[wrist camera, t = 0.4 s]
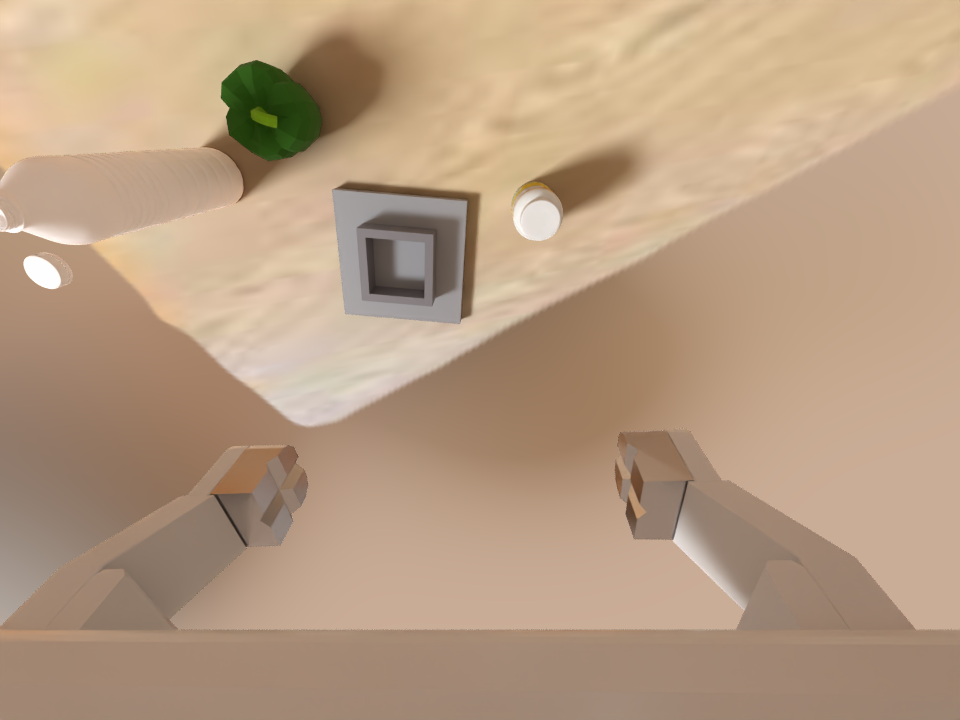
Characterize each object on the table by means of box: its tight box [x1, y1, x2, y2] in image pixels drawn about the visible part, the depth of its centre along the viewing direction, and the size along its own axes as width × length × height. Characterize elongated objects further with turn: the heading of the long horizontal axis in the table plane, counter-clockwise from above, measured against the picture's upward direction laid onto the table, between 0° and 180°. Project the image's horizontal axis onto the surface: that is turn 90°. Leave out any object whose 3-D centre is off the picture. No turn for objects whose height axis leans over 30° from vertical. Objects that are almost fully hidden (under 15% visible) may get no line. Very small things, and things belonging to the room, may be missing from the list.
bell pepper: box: [221, 60, 322, 161], centre depth 40 cm, size 8×8×10 cm
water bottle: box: [0, 147, 244, 289], centre depth 38 cm, size 9×6×25 cm
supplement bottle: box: [511, 182, 563, 241], centre depth 44 cm, size 5×5×10 cm
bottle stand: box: [332, 188, 468, 324], centre depth 50 cm, size 16×16×4 cm
